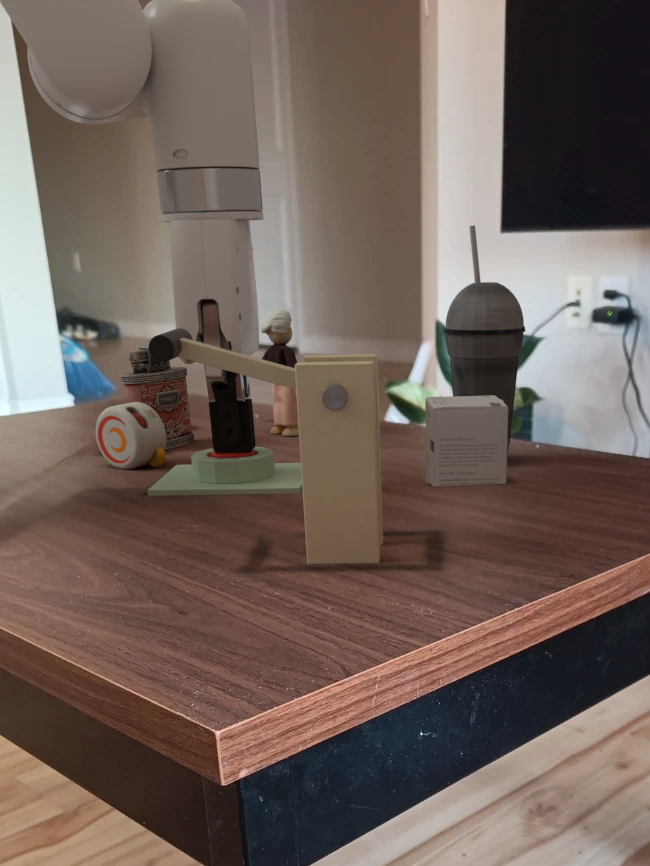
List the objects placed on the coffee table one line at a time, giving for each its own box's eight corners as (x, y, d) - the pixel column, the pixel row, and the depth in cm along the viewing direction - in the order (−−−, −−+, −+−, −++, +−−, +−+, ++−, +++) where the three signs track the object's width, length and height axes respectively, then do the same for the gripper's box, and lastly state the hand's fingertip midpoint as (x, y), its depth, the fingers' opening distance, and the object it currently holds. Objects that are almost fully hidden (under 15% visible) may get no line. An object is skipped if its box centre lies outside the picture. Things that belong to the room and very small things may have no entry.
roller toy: (129, 459, 101) (121, 398, 98) (178, 465, 98) (171, 402, 96) (96, 468, 98) (86, 405, 95) (145, 474, 95) (137, 408, 92)
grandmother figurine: (322, 433, 112) (316, 309, 107) (297, 438, 110) (289, 311, 104) (275, 427, 117) (266, 307, 112) (249, 432, 115) (239, 309, 109)
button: (208, 477, 83) (205, 455, 82) (216, 468, 86) (214, 447, 86) (252, 477, 83) (250, 455, 82) (259, 468, 86) (257, 446, 85)
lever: (145, 367, 58) (151, 323, 57) (166, 358, 62) (172, 316, 61) (354, 424, 59) (364, 382, 58) (360, 411, 63) (369, 371, 62)
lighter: (146, 453, 104) (133, 349, 99) (122, 451, 105) (109, 347, 101) (201, 441, 110) (191, 341, 106) (178, 438, 111) (168, 340, 107)
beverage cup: (510, 471, 92) (516, 223, 84) (433, 467, 95) (431, 226, 86) (530, 455, 98) (537, 224, 90) (457, 452, 101) (457, 226, 92)
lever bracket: (250, 592, 62) (230, 368, 56) (270, 555, 69) (254, 353, 64) (433, 590, 61) (431, 364, 56) (434, 553, 69) (432, 350, 63)
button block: (149, 511, 81) (144, 466, 80) (178, 484, 90) (173, 443, 89) (301, 509, 81) (298, 464, 79) (314, 482, 90) (312, 441, 88)
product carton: (424, 486, 87) (423, 396, 84) (495, 483, 88) (496, 393, 85) (432, 502, 82) (431, 406, 79) (508, 499, 82) (510, 403, 79)
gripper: (183, 204, 83) (208, 436, 91) (134, 197, 70) (167, 471, 77) (275, 201, 83) (292, 434, 91) (244, 194, 69) (267, 468, 77)
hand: (235, 450), depth 84 cm, fingers closed
